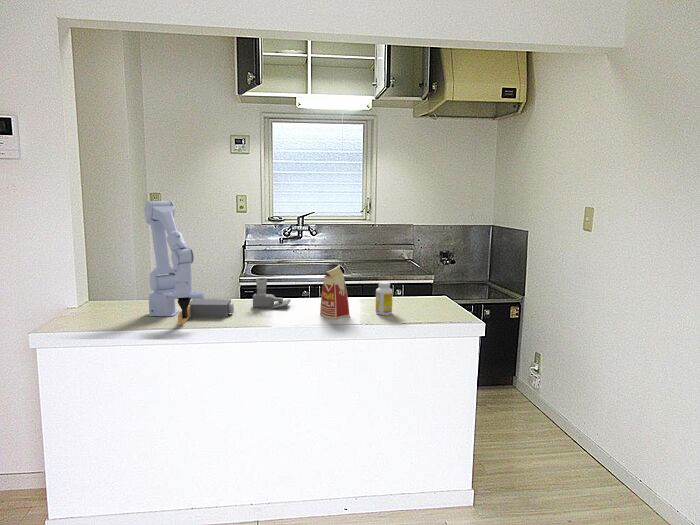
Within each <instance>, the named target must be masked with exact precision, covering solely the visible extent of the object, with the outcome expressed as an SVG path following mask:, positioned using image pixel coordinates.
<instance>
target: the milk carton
mask: <svg viewBox="0 0 700 525" xmlns="http://www.w3.org/2000/svg"><path fill="white" fill-rule="evenodd" d="M323 277H324V279H323V283H322V288H321V296H320V297H321V298H320V299H321V300H320V310H319V313H320V314H319V315H320V316H322V317H324V318H326V319H332V320H338V319H342V317H343V318H347V317H351V316H350V305H349V298H348V290H347V285H346V280H345V277H344V273H343V271H342V269H341V265H340V264H339V265H337V266H336V267H334V268H333V269H330V270H328V271H326V274H325V275H324V276H323Z"/></svg>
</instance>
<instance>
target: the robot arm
mask: <svg viewBox="0 0 700 525" xmlns="http://www.w3.org/2000/svg"><path fill="white" fill-rule="evenodd" d="M175 212H176V206H175V204H174V202H173V200H171V199H170V200H161V201H160V200H158V201H156V200H153V201H151V200H148V201H146V203H145V204H144V217H145V221H146V224H148V225H150V229H151V236H152V243H153V250H154V252H153V253H154V256H155V268H154V269H153V270H152V271H151V272H150V273H149V287H150V289H151V291H150V292H149V295H148V312H149V313H148V317H174V316H175V315H176V314H178V313H179V312H180V310H181V311H182V318H185V319H186V318H187V317H188V311H187V308H188V305H189V302H190V301H191V300H192V299H206V297H205V296H206V294H205V292H197V291H193V284H192V280H193V279H192V264H194V257H195V256H194V252H193V249H192V248H191V247H190V246H189V245H187V243H186V241H185V238H184V236H183V234H182V233H181V232H180V231H178V229H177V228H178V227H177V225H176V221H175ZM168 247H169V249H170V252H171V255H170V256H171V257H170V259H171V263H172V266H171V264H170V259H169V252H168ZM176 299H177V303H178V305H179V307H180V310H179V309H176Z"/></svg>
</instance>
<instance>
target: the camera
mask: <svg viewBox="0 0 700 525" xmlns="http://www.w3.org/2000/svg"><path fill="white" fill-rule="evenodd" d="M255 280H256V281H255V282H256V284H255V285H256V293H254V294H253V295H252V308H255V307H264V308H263V309H272V310H273V309H277V308H282V307H287V306H289V304H290V302H291V299H285V300H284V298H283V297H276V296H275V294H271V293H270V294H269V293H267V285H268V279H267V278H262V277H261V278H256V279H255Z"/></svg>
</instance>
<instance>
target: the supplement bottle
mask: <svg viewBox="0 0 700 525" xmlns="http://www.w3.org/2000/svg"><path fill="white" fill-rule="evenodd" d="M377 285H378V288H376V290H375V313H376V314H377V315H379V316H388V315H391V314H393V289H392V288H391V287H390V286H391V282H390V281H387V280H386V281H385V280H383V281H382V280H381V281H379V282H378V284H377Z"/></svg>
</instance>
